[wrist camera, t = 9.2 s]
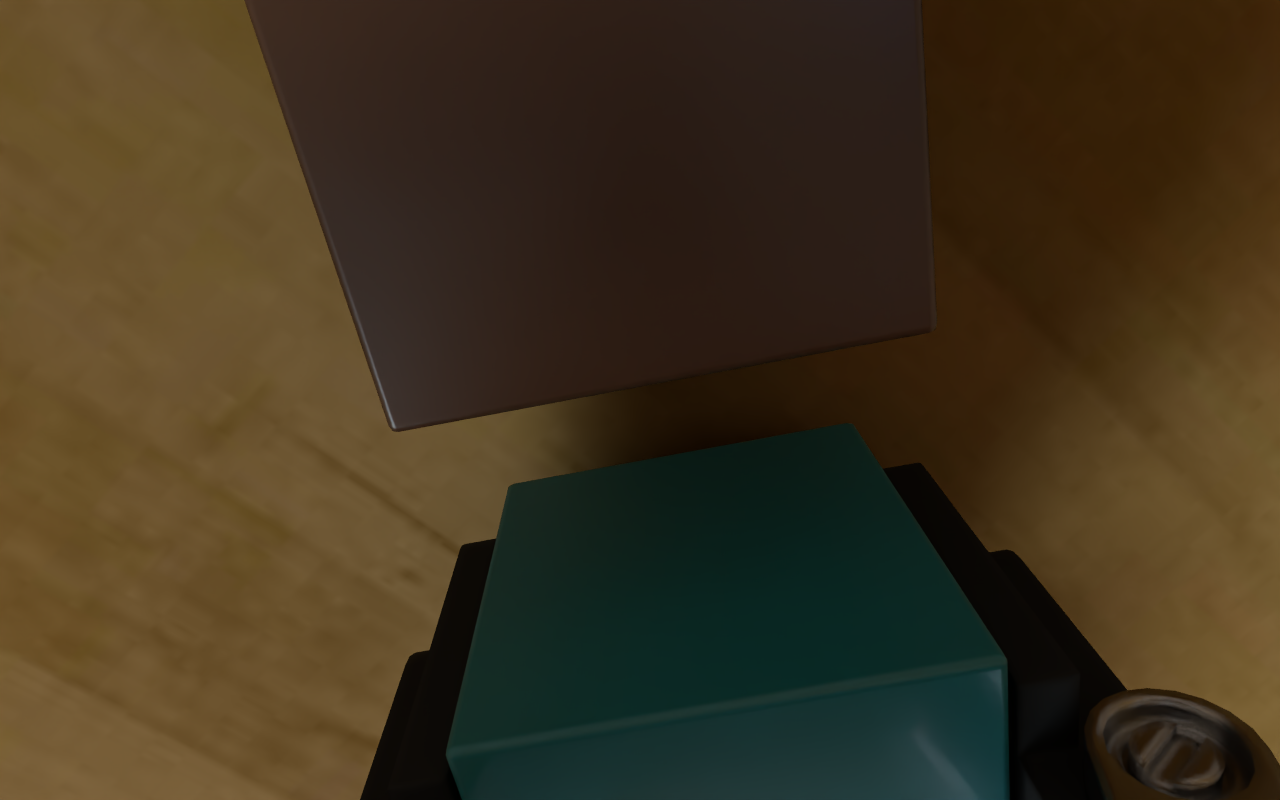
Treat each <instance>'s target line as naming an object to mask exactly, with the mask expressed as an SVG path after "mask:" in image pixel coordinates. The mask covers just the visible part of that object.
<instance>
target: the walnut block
mask: <svg viewBox="0 0 1280 800" xmlns="http://www.w3.org/2000/svg"><path fill="white" fill-rule="evenodd" d="M244 1H245V4H246V6H247V9H248V12H249V15H250V18H251V21H252V24H253V27H254V30H255V33H256V36H257V39H258V42H259V45H260V48H261V51H262V54H263V57H264V60H265V63H266V65H267V68H268V71H269V74H270V77H271V80H272V83H273V86H274V89H275V92H276V95H277V98H278V101H279V104H280V107H281V110H282V113H283V116H284V119H285V121H286V124H287V127H288V130H289V133H290V136H291V139H292V142H293V145H294V148H295V151H296V154H297V157H298V160H299V163H300V166H301V169H302V172H303V175H304V177H305V180H306V183H307V186H308V189H309V192H310V195H311V198H312V201H313V204H314V207H315V210H316V213H317V216H318V219H319V222H320V225H321V228H322V231H323V233H324V236H325V239H326V242H327V245H328V248H329V251H330V254H331V257H332V260H333V263H334V266H335V269H336V272H337V275H338V278H339V281H340V284H341V287H342V289H343V292H344V295H345V298H346V301H347V304H348V307H349V310H350V313H351V316H352V319H353V322H354V325H355V328H356V331H357V334H358V337H359V340H360V343H361V346H362V348H363V351H364V354H365V357H366V360H367V363H368V366H369V369H370V372H371V375H372V378H373V381H374V384H375V387H376V390H377V393H378V396H379V399H380V402H381V404H382V407H383V410H384V413H385V416H386V419H387V422H388V425H389V427H390V428H391V429H392V431H397V432H400V431H406V430H411V429H416V428H422V427H427V426H432V425H438V424H443V423H448V422H454V421H459V420H465V419H470V418H475V417H481V416H486V415H491V414H497V413H502V412H507V411H513V410H518V409H523V408H529V407H534V406H540V405H545V404H550V403H556V402H561V401H566V400H572V399H577V398H582V397H588V396H593V395H598V394H604V393H609V392H614V391H620V390H625V389H631V388H636V387H641V386H647V385H652V384H657V383H663V382H668V381H673V380H679V379H684V378H689V377H695V376H700V375H706V374H711V373H716V372H722V371H727V370H732V369H738V368H743V367H748V366H754V365H759V364H764V363H770V362H775V361H781V360H786V359H791V358H797V357H802V356H807V355H813V354H818V353H823V352H829V351H834V350H839V349H845V348H850V347H855V346H861V345H866V344H872V343H877V342H882V341H888V340H893V339H898V338H904V337H909V336H914V335H920V334H925V333H930V332H932V331H933V330H935V328H936V325H937V309H936V288H935V267H934V246H933V225H932V204H931V183H930V162H929V141H928V120H927V99H926V79H925V58H924V37H923V16H922V0H244Z"/></svg>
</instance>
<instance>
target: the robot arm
mask: <svg viewBox="0 0 1280 800" xmlns="http://www.w3.org/2000/svg"><path fill="white" fill-rule="evenodd" d="M883 470H884V472H885V473H886V475H887V477H888V478H889V480H890V481H891V483H892V484H893V486H894V487H895V489H896V490H897V492H898V493H899V495H900V496H901V498H902V499H903V501H904V502H905V504H906V506H907V507H908V509H909V510H910V512H911V513H912V515H913V516H914V518H915V519H916V521H917V522H918V524H919V525H920V527H921V528H922V530H923V531H924V533H925V534H926V536H927V538H928V539H929V541H930V542H931V544H932V545H933V547H934V548H935V550H936V551H937V553H938V554H939V556H940V557H941V559H942V560H943V562H944V563H945V565H946V567H947V568H948V570H949V571H950V573H951V574H952V576H953V577H954V579H955V580H956V582H957V583H958V585H959V586H960V588H961V589H962V591H963V592H964V594H965V596H966V597H967V599H968V600H969V602H970V603H971V605H972V606H973V608H974V609H975V611H976V612H977V614H978V615H979V617H980V618H981V620H982V621H983V623H984V624H985V626H986V628H987V629H988V631H989V632H990V634H991V635H992V637H993V638H994V640H995V641H996V643H997V644H998V646H999V647H1000V649H1001V650H1002V652H1003V653H1004V655H1005V657H1006V658H1007V666H1008V727H1009V787H1010V800H1280V765H1279V763H1278V761H1277V760H1276V758H1275V757H1274V755H1273V753H1272V752H1271V750H1270V748H1269V747H1268V746H1267V745H1266V744H1265V742H1264V741H1263V740H1262V739H1261V738H1260V737H1259V735H1258V734H1257V733H1256V732H1255V731H1254V729H1253V728H1251V727H1250V726H1249V725H1247V724H1246V723H1245V722H1243V721H1242V720H1240V719H1239V718H1238V717H1236V716H1235V715H1234V714H1232V713H1231V712H1230V711H1227V710H1225V709H1223V708H1221V707H1219V706H1217V705H1215V704H1213V703H1211V702H1209V701H1207V700H1204V699H1202V698H1198V697H1195V696H1191V695H1188V694H1184V693H1181V692H1177V691H1171V690H1161V689H1150V688H1144V689H1135V690H1127V689H1126V688H1125V687H1124V686H1123V684H1122V683H1121V682H1120V681H1119V679H1118V678H1117V677H1116V676H1115V674H1114V673H1113V672H1112V671H1111V669H1110V668H1109V667H1108V666H1107V665H1106V663H1105V662H1104V661H1103V660H1102V658H1101V657H1100V656H1099V655H1098V653H1097V652H1096V651H1095V650H1094V649H1093V647H1092V646H1091V645H1090V644H1089V642H1088V641H1087V640H1086V639H1085V637H1084V636H1083V635H1082V634H1081V632H1080V631H1079V630H1078V629H1077V628H1076V626H1075V625H1074V624H1073V623H1072V621H1071V620H1070V619H1069V618H1068V616H1067V615H1066V614H1065V613H1064V611H1063V610H1062V609H1061V608H1060V607H1059V605H1058V604H1057V603H1056V602H1055V600H1054V599H1053V598H1052V597H1051V595H1050V594H1049V593H1048V592H1047V591H1046V589H1045V588H1044V587H1043V586H1042V584H1041V583H1040V582H1039V581H1038V579H1037V578H1036V577H1035V576H1034V574H1033V573H1032V572H1031V571H1030V570H1029V568H1028V567H1027V566H1026V565H1025V563H1024V562H1023V561H1022V560H1021V558H1020V557H1018V556H1017V555H1016V554H1015V553H1014V552H1013V551H1010V550H1001V551H995V552H988V551H987V550H986V548H985V547H984V546H983V544H982V543H981V542H980V540H979V539H978V538H977V536H976V535H975V534H974V532H973V531H972V530H971V528H970V527H969V526H968V524H967V523H966V522H965V520H964V519H963V518H962V516H961V515H960V514H959V512H958V511H957V510H956V509H955V507H954V506H953V505H952V503H951V502H950V501H949V499H948V498H947V497H946V495H945V494H944V493H943V491H942V490H941V489H940V487H939V486H938V485H937V483H936V482H935V481H934V479H933V478H932V477H931V475H930V474H929V473H928V472H927V470H926V469H925V468H924V466H923V465H922V464H921V463H914V464H908V465H902V466H897V467H891V468H886V469H883ZM495 542H496V539H491V540H486V541H480V542H474V543H469V544H464V545H462V547H461V549H460V552H459V555H458V558H457V562H456V565H455V568H454V571H453V575H452V578H451V581H450V585H449V588H448V591H447V594H446V598H445V601H444V604H443V608H442V611H441V614H440V617H439V621H438V624H437V627H436V631H435V634H434V637H433V640H432V644H431V647H430V650H428V651H422V652H417V653H414V654H413V655H411V656H410V657H409V659H408V661H407V663H406V665H405V668H404V671H403V674H402V677H401V680H400V683H399V686H398V689H397V692H396V695H395V698H394V701H393V704H392V707H391V710H390V713H389V716H388V719H387V722H386V725H385V727H384V730H383V733H382V736H381V739H380V742H379V745H378V748H377V751H376V754H375V757H374V760H373V763H372V766H371V769H370V772H369V775H368V778H367V781H366V784H365V787H364V790H363V793H362V796H361V799H360V800H462V798H461V796H460V793H459V790H458V788H457V785H456V782H455V780H454V777H453V774H452V772H451V769H450V766H449V763H448V761H447V758H446V749H447V745H448V740H449V736H450V732H451V728H452V724H453V719H454V715H455V711H456V707H457V702H458V698H459V694H460V690H461V686H462V681H463V677H464V673H465V669H466V664H467V660H468V656H469V652H470V648H471V643H472V639H473V635H474V631H475V626H476V622H477V618H478V614H479V610H480V605H481V601H482V597H483V593H484V588H485V584H486V580H487V576H488V572H489V567H490V563H491V559H492V555H493V550H494V546H495Z"/></svg>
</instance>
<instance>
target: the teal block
mask: <svg viewBox="0 0 1280 800" xmlns="http://www.w3.org/2000/svg"><path fill="white" fill-rule="evenodd" d="M446 758H447V761H448V763H449V766H450V769H451V772H452V774H453V777H454V780H455V782H456V785H457V788H458V790H459V793H460V796H461V798H462V800H1010V787H1009V727H1008V666H1007V658H1006V657H1005V655H1004V653H1003V652H1002V650H1001V649H1000V647H999V646H998V644H997V643H996V641H995V640H994V638H993V637H992V635H991V634H990V632H989V631H988V629H987V628H986V626H985V624H984V623H983V621H982V620H981V618H980V617H979V615H978V614H977V612H976V611H975V609H974V608H973V606H972V605H971V603H970V602H969V600H968V599H967V597H966V596H965V594H964V592H963V591H962V589H961V588H960V586H959V585H958V583H957V582H956V580H955V579H954V577H953V576H952V574H951V573H950V571H949V570H948V568H947V567H946V565H945V563H944V562H943V560H942V559H941V557H940V556H939V554H938V553H937V551H936V550H935V548H934V547H933V545H932V544H931V542H930V541H929V539H928V538H927V536H926V534H925V533H924V531H923V530H922V528H921V527H920V525H919V524H918V522H917V521H916V519H915V518H914V516H913V515H912V513H911V512H910V510H909V509H908V507H907V506H906V504H905V502H904V501H903V499H902V498H901V496H900V495H899V493H898V492H897V490H896V489H895V487H894V486H893V484H892V483H891V481H890V480H889V478H888V477H887V475H886V473H885V472H884V470H883V469H882V467H881V466H880V464H879V463H878V461H877V460H876V458H875V457H874V455H873V454H872V452H871V451H870V449H869V448H868V446H867V445H866V443H865V441H864V440H863V438H862V437H861V435H860V434H859V432H858V431H857V429H856V428H855V426H854V425H853V424H851V423H844V424H838V425H833V426H828V427H822V428H817V429H811V430H806V431H800V432H795V433H789V434H784V435H778V436H773V437H767V438H762V439H756V440H751V441H745V442H740V443H734V444H729V445H724V446H718V447H713V448H707V449H702V450H696V451H691V452H685V453H680V454H674V455H669V456H663V457H658V458H652V459H647V460H641V461H636V462H630V463H625V464H620V465H614V466H609V467H603V468H598V469H592V470H587V471H581V472H576V473H570V474H565V475H559V476H554V477H548V478H543V479H537V480H532V481H526V482H521V483H516V484H513V485H511V486H509V487H508V491H507V496H506V500H505V504H504V508H503V512H502V517H501V521H500V525H499V529H498V534H497V538H496V542H495V546H494V550H493V555H492V559H491V563H490V567H489V572H488V576H487V580H486V584H485V588H484V593H483V597H482V601H481V605H480V610H479V614H478V618H477V622H476V626H475V631H474V635H473V639H472V643H471V648H470V652H469V656H468V660H467V664H466V669H465V673H464V677H463V681H462V686H461V690H460V694H459V698H458V702H457V707H456V711H455V715H454V719H453V724H452V728H451V732H450V736H449V740H448V745H447V749H446Z"/></svg>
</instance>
